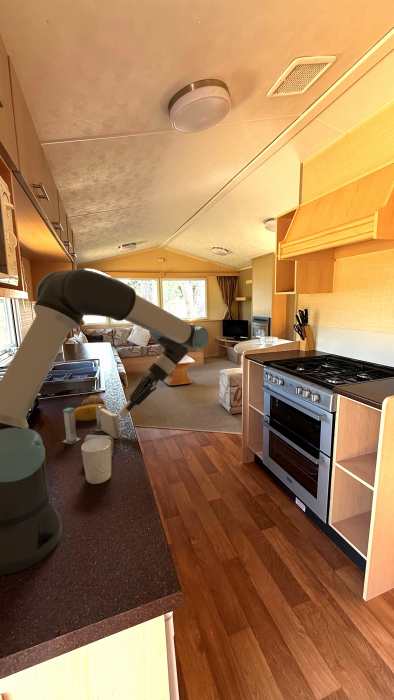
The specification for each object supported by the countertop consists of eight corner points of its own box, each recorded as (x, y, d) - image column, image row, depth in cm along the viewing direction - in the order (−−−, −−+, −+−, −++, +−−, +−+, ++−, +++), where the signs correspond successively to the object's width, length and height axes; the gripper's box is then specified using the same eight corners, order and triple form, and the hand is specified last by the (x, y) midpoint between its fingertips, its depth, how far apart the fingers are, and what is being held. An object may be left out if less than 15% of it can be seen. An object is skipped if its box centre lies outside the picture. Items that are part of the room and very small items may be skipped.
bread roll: (89, 420, 135) (92, 406, 132) (75, 407, 139) (78, 394, 136) (106, 413, 143) (110, 400, 140) (92, 401, 147) (96, 388, 144)
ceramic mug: (110, 463, 92) (108, 440, 91) (83, 465, 92) (81, 441, 91) (116, 447, 103) (115, 426, 102) (92, 448, 102) (91, 427, 101)
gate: (101, 429, 116) (99, 408, 114) (105, 427, 117) (103, 406, 115) (115, 438, 107) (114, 416, 106) (119, 437, 108) (118, 414, 107)
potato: (107, 421, 125) (106, 405, 124) (72, 425, 121) (70, 409, 120) (107, 414, 132) (106, 399, 131) (73, 418, 128) (72, 403, 127)
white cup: (111, 467, 90) (109, 436, 89) (114, 481, 83) (112, 448, 81) (84, 472, 88) (81, 441, 86) (84, 488, 80) (81, 453, 79)
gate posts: (69, 445, 104) (66, 412, 102) (61, 441, 107) (57, 409, 105) (110, 427, 118) (108, 398, 116) (102, 424, 121) (99, 396, 119)
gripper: (173, 377, 112) (131, 427, 109) (163, 370, 124) (125, 415, 121) (159, 365, 109) (116, 416, 106) (150, 359, 121) (111, 404, 118)
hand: (121, 415), depth 113 cm, fingers closed
